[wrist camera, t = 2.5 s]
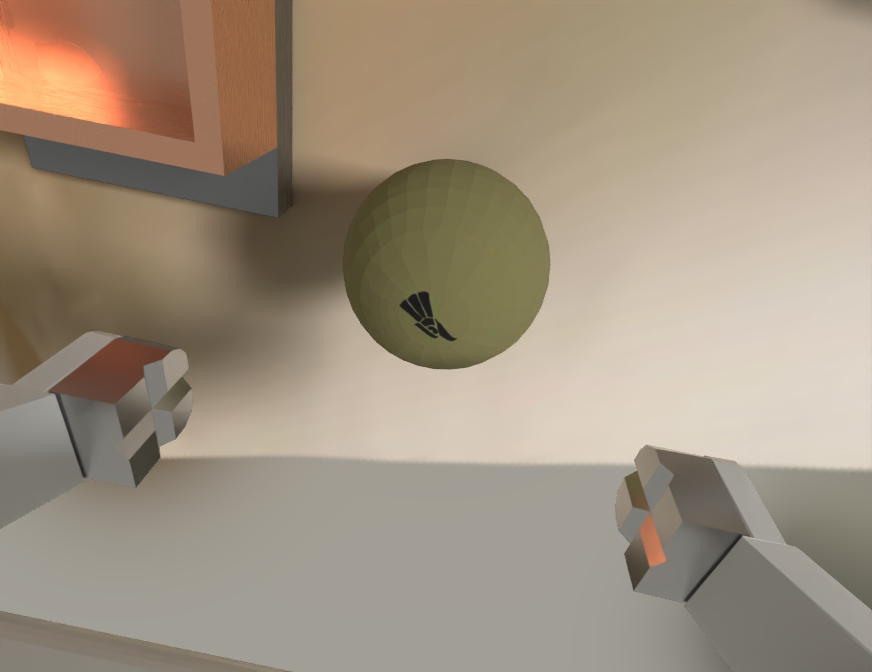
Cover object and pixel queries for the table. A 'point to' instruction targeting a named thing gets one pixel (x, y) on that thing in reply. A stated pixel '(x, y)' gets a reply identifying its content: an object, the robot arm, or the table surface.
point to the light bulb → (446, 264)
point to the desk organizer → (155, 95)
